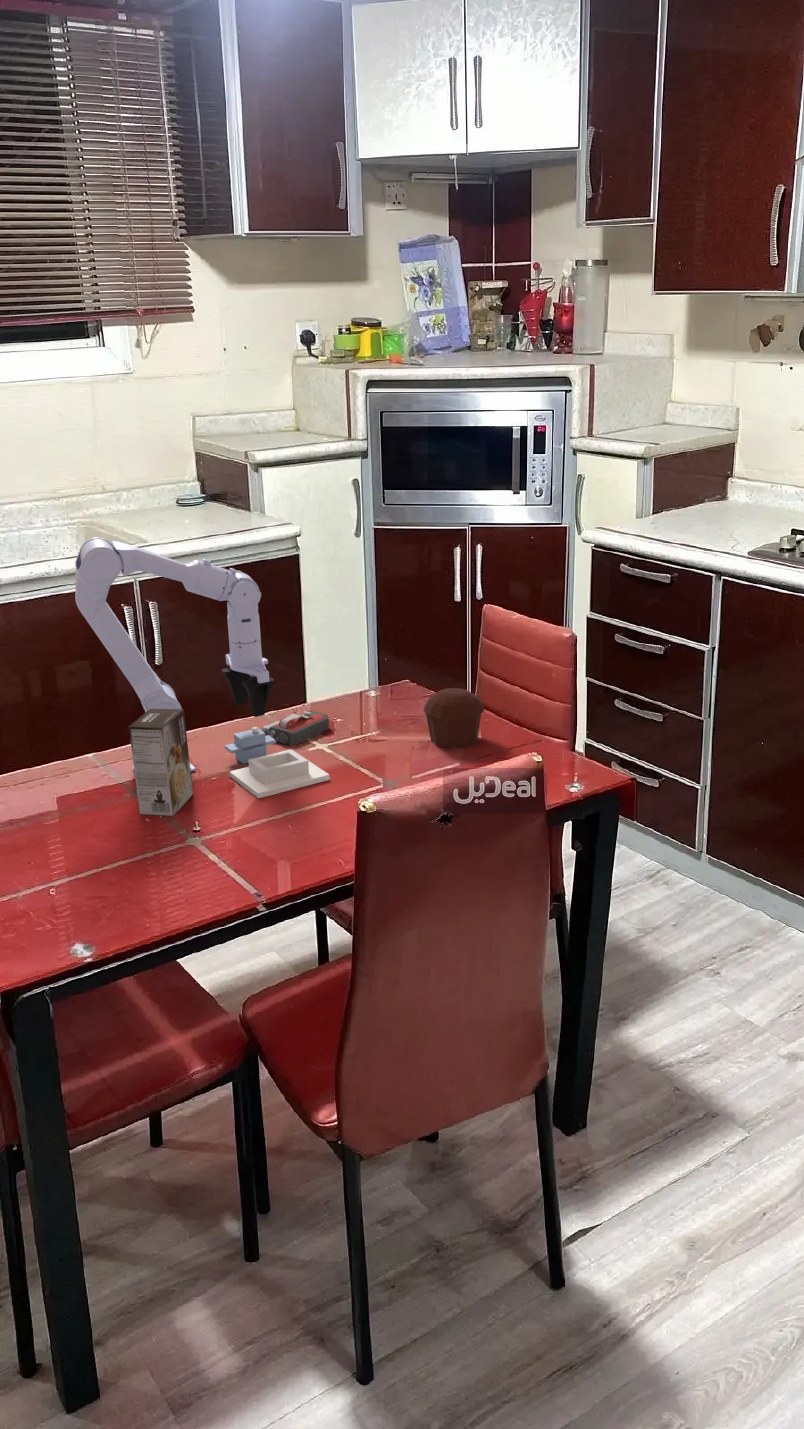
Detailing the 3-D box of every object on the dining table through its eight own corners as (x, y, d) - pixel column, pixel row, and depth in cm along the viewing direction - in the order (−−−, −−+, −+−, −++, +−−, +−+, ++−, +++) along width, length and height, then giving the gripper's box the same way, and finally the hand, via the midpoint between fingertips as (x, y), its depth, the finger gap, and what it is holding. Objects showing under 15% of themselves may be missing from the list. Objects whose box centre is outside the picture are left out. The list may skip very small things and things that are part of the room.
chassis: (258, 798, 200) (256, 779, 199) (230, 776, 210) (228, 758, 209) (329, 779, 207) (328, 761, 206) (299, 759, 217) (297, 741, 216)
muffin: (417, 748, 220) (415, 698, 217) (432, 727, 230) (431, 680, 227) (477, 753, 217) (477, 702, 214) (491, 732, 227) (490, 683, 224)
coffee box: (159, 793, 204) (150, 707, 199) (194, 794, 203) (185, 708, 197) (138, 814, 196) (127, 725, 190) (174, 817, 194) (164, 727, 189)
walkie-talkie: (303, 720, 238) (233, 750, 223) (302, 699, 237) (231, 728, 222) (335, 728, 233) (266, 759, 218) (334, 707, 231) (264, 737, 217)
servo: (232, 766, 215) (230, 737, 213) (225, 761, 217) (223, 732, 215) (276, 755, 219) (274, 726, 217) (269, 750, 222) (267, 722, 220)
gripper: (282, 644, 207) (287, 716, 212) (248, 627, 219) (253, 695, 223) (246, 651, 204) (251, 724, 208) (213, 633, 215) (219, 702, 220)
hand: (250, 710), depth 216 cm, fingers open, 7 cm apart
